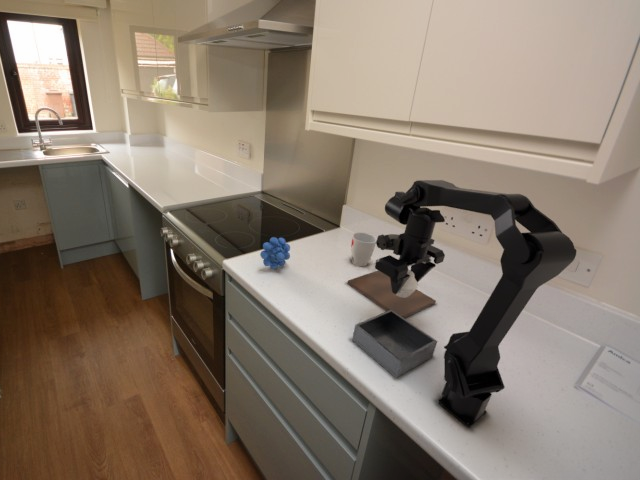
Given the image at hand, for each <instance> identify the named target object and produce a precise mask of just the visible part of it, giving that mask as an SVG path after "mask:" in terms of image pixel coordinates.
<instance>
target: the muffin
mask: <svg viewBox="0 0 640 480" xmlns="http://www.w3.org/2000/svg"><path fill="white" fill-rule="evenodd" d="M407 274H409V275H410V277H409V278H408V280H407V281H406V282H405V284H404V285H403V287H402V288H401V289H400V291H399V292H398V293H397V294H396V295H397V296H399V297H402V298H406V297H408V296H409V295H411V294H412V293H413V292H414V291H415V290H416V289H417V290H418V287H419V282H418V283H417V281H416V279H415V277H414V276H415V275H414V273H413V272H412V271H411V269H408V272H407Z"/></svg>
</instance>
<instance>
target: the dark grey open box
mask: <svg viewBox="0 0 640 480" xmlns="http://www.w3.org/2000/svg"><path fill="white" fill-rule="evenodd" d="M351 339H352V340H351V341H352V342H353V343H355V344H356V345H357V346H358V347H359V348H361V350H362V351H364V352H365V353H366V354H368V356H370V357H371V358H372V359H373V360H374V361H375V362H376V363H378V364H379V365H380V366H381V367H382V368H384V369H385V370H386V371H387V372H388V373H389V374H391V375H392V376H393V377H394V378H395V379H397V378H399V377H401V376H402V375H405V373H407V372H409V371H411V370H413V369H414V368H416V367H418V366H420V365H421V364H423V363H424V362H426V361H428V360H429V359H431V358H433V356H434V354H435V351H436V349H437V348H436V347H437V344H438V340H437V339H435V338H434V337H432V336H431V335H429V334H428V333H426V332H425V331H423V330H422V329H421V328H419V327H418V326H416V325H414V323H412V322H410V321H409V320H407V319H406V318H403V317H401V316H400V315H398V314H397V313H396V312H394V311H393V310H389V311H384V312H381V313H379V314H377V315H375V316H373V317H370V318H368V319H366V320H363V321H361V322H358V323H357V324H354V328H353V334H352V338H351Z"/></svg>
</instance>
